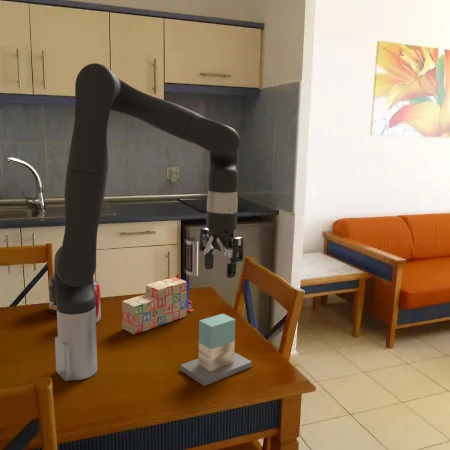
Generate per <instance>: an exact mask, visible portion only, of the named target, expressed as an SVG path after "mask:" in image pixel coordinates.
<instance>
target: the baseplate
mask: <svg viewBox="0 0 450 450" xmlns="http://www.w3.org/2000/svg"><path fill="white" fill-rule="evenodd" d="M198 361H199V357H198V358H196V359H192V360H190V361H188V362H184V363H182V364H180V365H179V371H181V372H183V374H186V375H187V376H188V377H189V378H191V379H193V380H194V381H196V382H197V383H199V384H200V385H201V386H203V387H206V386H209V385H210V384H212V383H215V382H218V381H220V380H222V379H226V378H228V377H230V376H233V375H235V374H237V373H240V372H242V371H245V370H247V369H249V368H252V360H249V359H248V358H247V357H244V356H242V355H240V354H239V353H237V352H235V351H234V362H233V363H231V364H228V365H226V366H223V367H221V368H218V369H216V370H213V371H209V370H207V369H206V368H204V367H203V366H201V365H199V364H198Z"/></svg>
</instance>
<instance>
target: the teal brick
mask: <svg viewBox="0 0 450 450" xmlns="http://www.w3.org/2000/svg"><path fill="white" fill-rule="evenodd" d="M236 320H237V319H235V318H233V317H231V316H229V315H228V314H225V313H220V314H216V315H213V316H210V317H206V318H203V319H200V320H199V322H198V344H199V343H201V344H202V345H204V346H206V347H208V348H209V349H214V348H216V347H219V346H222V345H225V344H228V343H230V342H233V341H235V342H236Z"/></svg>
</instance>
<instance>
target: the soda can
mask: <svg viewBox="0 0 450 450" xmlns="http://www.w3.org/2000/svg"><path fill="white" fill-rule="evenodd" d="M93 282H94V291H95V299H96V324H98V323H99V322H100V321H101V319H102V315H101V313H102V311H101V310H102V309H101V308H102V306H101V305H102V304H101V303H102V302H101V286H100V284H99V281H98V280H96V279H93Z"/></svg>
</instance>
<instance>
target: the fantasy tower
mask: <svg viewBox="0 0 450 450" xmlns="http://www.w3.org/2000/svg"><path fill="white" fill-rule="evenodd" d="M175 278H178V279H181V280H184V281H186V282H187V306H186V308H187V310H186V314H188V313H189V314H193V313H195V312H196V310H195V309H194V308H192V305H193V303H192V302H193V301H192V300H189V295H190V294H189V293H190V292H189V290H190V288H189V280H188V279H186V278H180V276H179V273H178V274H176V276H175Z"/></svg>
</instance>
